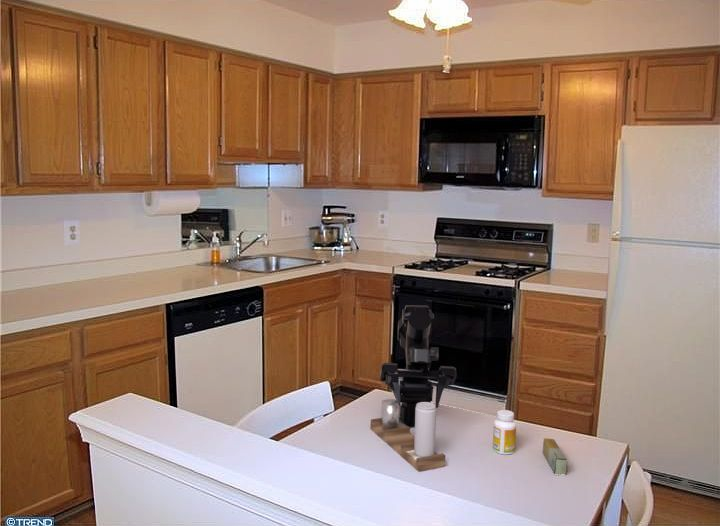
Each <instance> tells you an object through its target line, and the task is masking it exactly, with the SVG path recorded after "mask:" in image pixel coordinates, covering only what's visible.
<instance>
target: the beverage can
mask: <svg viewBox="0 0 720 526" xmlns="http://www.w3.org/2000/svg"><path fill="white" fill-rule="evenodd" d="M436 421H437V408H436V404H435V403H434V402H430V403H429V402H420V403H417V404H416V408H415V427H414V436H415V442H414V452H415V454H416V455H417V456H419V457H426V456H431V455H434V454H435V452H436V429H437V428H436V427H437V425H436V424H437V422H436Z"/></svg>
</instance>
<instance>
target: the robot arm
mask: <svg viewBox="0 0 720 526" xmlns="http://www.w3.org/2000/svg"><path fill="white" fill-rule="evenodd" d="M404 306H405V307H404V309H402V313H401V314H402V315H401V317H400V319H399V320H398V322H397V340H398V341H399V346H400V347H401V348H403V349H404V350H405V361H406V362H405V363H406V364H405V365H406V366H404V368H398V363H395V362H394V363H393V362H383V363H382V364H381V366H380V372H379V381H380V382H383V383H384V384H385V385H388V386H389V388H390V390H391V391H392V394H393V396H394V398H395V400H396V401H397V403H398V406H400V410H399V422H401V423H402V424H404V425H405V427H407V426H408V427H410V428H413V427H414V428H415V408H416V404H417V403H420V402H429V403H432V402H433V396H434V385H433V384H432V381H431V380H430V379H434V380H435V379H437V381H436V382H437V384H436V387H435V403H434V404H435V405H436V409H438V407H439V405H440V401H441V399H442V398H441V397H442V394H443V391H444V389H447V388H449V386H453V385H454V384H455V381H456V379H457V369H456V367H454V366H447V365H446V366H445V365H440V367H439V369H438V370H430V369H431V367H432V361H434V362H435V361H439V357H440V353H439V352H440V351H439V349H440V348H439V346H437V347H436V346H431V347H430V349H429V335H430V331H431V325H433V323H435V315H434V313H433V312H432V310H431V309H430V307H429V305H414V304H413V305H412V304H411V305H407V304H406V305H404ZM399 377H400V378H401V379H400V378H399Z"/></svg>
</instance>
